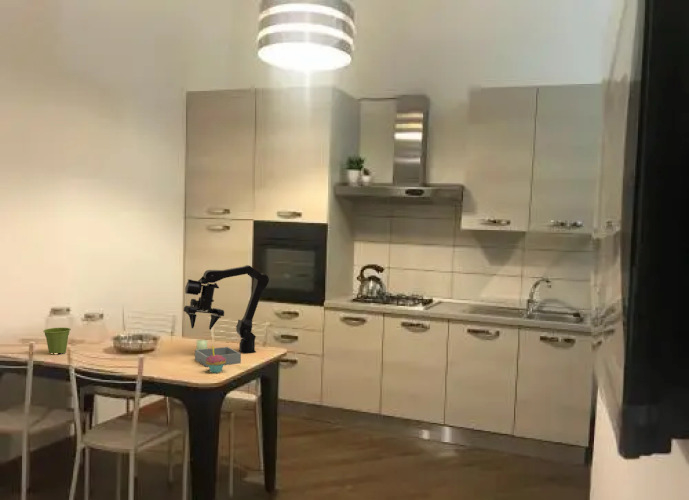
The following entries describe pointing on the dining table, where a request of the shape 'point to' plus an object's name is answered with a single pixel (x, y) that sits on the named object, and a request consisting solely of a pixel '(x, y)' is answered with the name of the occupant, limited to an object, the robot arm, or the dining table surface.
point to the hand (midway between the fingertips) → (201, 328)
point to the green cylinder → (201, 344)
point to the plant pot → (57, 339)
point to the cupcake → (215, 362)
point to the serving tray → (226, 352)
